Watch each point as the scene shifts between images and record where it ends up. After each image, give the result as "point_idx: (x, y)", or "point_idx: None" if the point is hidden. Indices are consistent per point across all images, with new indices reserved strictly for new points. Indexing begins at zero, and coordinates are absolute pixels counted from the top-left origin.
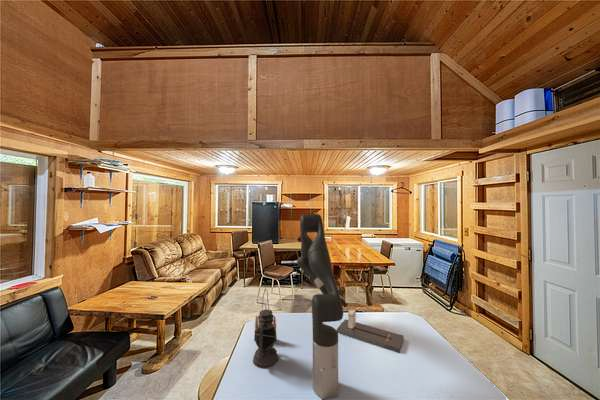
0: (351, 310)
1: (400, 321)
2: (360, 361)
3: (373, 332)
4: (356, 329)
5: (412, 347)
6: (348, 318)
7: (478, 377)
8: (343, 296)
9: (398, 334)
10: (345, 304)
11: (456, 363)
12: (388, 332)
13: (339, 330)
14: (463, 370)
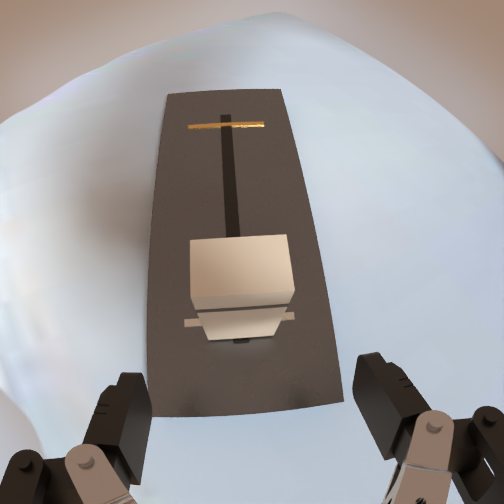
0: (233, 273)
1: (21, 158)
2: (435, 194)
3: (218, 185)
4: None
5: (209, 84)
6: (283, 312)
7: (250, 17)
8: (30, 456)
9: (168, 106)
10: (139, 396)
11: (223, 31)
12: (172, 135)
13: (340, 378)
14: (243, 25)
